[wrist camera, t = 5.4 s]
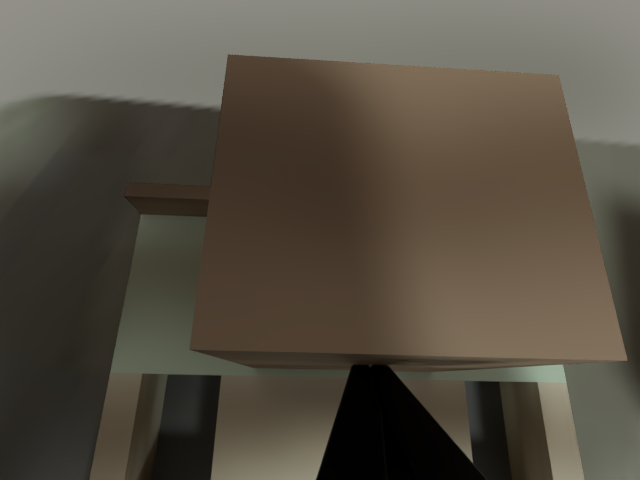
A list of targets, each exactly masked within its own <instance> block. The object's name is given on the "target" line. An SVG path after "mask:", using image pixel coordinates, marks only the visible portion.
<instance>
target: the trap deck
mask: <svg viewBox="0 0 640 480" xmlns="http://www.w3.org/2000/svg"><path fill="white" fill-rule="evenodd" d="M210 188H211V186H194V185H172V184H150V183H128V182H127V184H126V189H125V194H124V196H125V198H126V199H127V200H128V201H129V202H130V203H131V204H132V205H133V206H134V207H135V208H136V209H137V210H138V211H139V213H140V214H141V217H140V222H139V227H138V233H137V238H136V243H135V248H134V253H133V258H132V263H131V268H130V274H129V279H128V284H127V289H126V294H125V299H124V304H123V309H122V315H121V320H120V325H119V330H118V335H117V340H116V345H115V350H114V356H113V361H112V366H111V371H110V376H109V381H108V386H107V392H106V397H105V402H104V407H103V412H102V417H101V422H100V427H99V433H98V438H97V443H96V448H95V453H94V458H93V463H92V468H91V474H90V479H89V480H316V478H317V475H318V471H319V468H320V465H321V462H322V458H323V455H324V452H325V449H326V446H327V442H328V439H329V436H330V433H331V430H332V426H333V423H334V420H335V417H336V413H337V410H338V407H339V404H340V401H341V397H342V394H343V391H344V388H345V385H346V381H347V378H348V375H349V372H350V370H323V369H279V368H251V367H248V366H244V365H241V364H237V363H234V362H230V361H227V360H223V359H220V358H216V357H213V356H209V355H206V354H202V353H199V352H195V351H192V350H189V348H190V340H191V333H192V325H193V317H194V310H195V302H196V295H197V287H198V279H199V272H200V264H201V257H202V249H203V241H204V234H205V226H206V219H207V211H208V203H209V196H210ZM394 373H395V374H396V375H397V376H398V377H399V378H400V379H401V381H402V382H403V383H404V384H405V385H406V386H407V388H408V389H409V390H410V391H411V392H412V393H413V394H414V396H415V397H416V398H417V399H418V400H419V401H420V403H421V404H422V405H423V406H424V407H425V408H426V409H427V411H428V412H429V413H430V414H431V415H432V416H433V418H434V419H435V420H436V421H437V422H438V423H439V424H440V426H441V427H442V428H443V429H444V430H445V431H446V433H447V434H448V435H449V436H450V437H451V438H452V439H453V441H454V442H455V443H456V444H457V445H458V446H459V448H460V449H461V450H462V451H463V452H464V453H465V454H466V456H467V457H468V458H469V459H470V460H471V461H472V463H473V464H474V465H475V466H476V467H477V468H478V469H479V471H480V472H481V473H482V474H483V475H484V476H485V477H486V479H487V480H584V475H583V470H582V464H581V459H580V454H579V448H578V443H577V438H576V432H575V427H574V421H573V416H572V411H571V405H570V400H569V395H568V389H567V384H566V378H565V373H564V368H563V365H546V366H529V367H512V368H495V369H478V370H461V371H443V372H410V371H394Z"/></svg>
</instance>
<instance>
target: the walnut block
mask: <svg viewBox="0 0 640 480" xmlns="http://www.w3.org/2000/svg"><path fill="white" fill-rule="evenodd" d="M189 350H192V351H195V352H199V353H202V354H206V355H209V356H213V357H216V358H220V359H223V360H227V361H230V362H234V363H237V364H241V365H244V366H248V367H251V368H279V369H323V370H350V368H351V366H352V365H368V366H372V365H387V366H389V367H390V368H391V369H392V370H393V371H410V372H443V371H461V370H478V369H495V368H512V367H529V366H546V365H563V364H580V363H597V362H614V361H628V360H627V356H626V352H625V348H624V344H623V339H622V335H621V331H620V327H619V323H618V319H617V315H616V310H615V306H614V302H613V298H612V294H611V290H610V286H609V282H608V277H607V273H606V269H605V265H604V261H603V257H602V253H601V248H600V244H599V240H598V236H597V232H596V228H595V224H594V219H593V215H592V211H591V207H590V203H589V199H588V195H587V190H586V186H585V182H584V178H583V174H582V170H581V166H580V161H579V157H578V153H577V149H576V145H575V141H574V137H573V132H572V128H571V124H570V120H569V116H568V112H567V108H566V104H565V99H564V95H563V91H562V87H561V83H560V79H559V75H548V74H547V75H546V74H532V73H516V72H515V73H514V72H499V71H483V70H467V69H451V68H435V67H419V66H403V65H387V64H370V63H355V62H338V61H323V60H307V59H306V60H305V59H291V58H274V57H257V56H242V55H228V59H227V67H226V74H225V82H224V90H223V97H222V105H221V112H220V120H219V127H218V135H217V143H216V150H215V158H214V165H213V173H212V181H211V188H210V196H209V203H208V211H207V219H206V226H205V234H204V241H203V249H202V257H201V264H200V272H199V279H198V287H197V295H196V302H195V310H194V317H193V325H192V333H191V340H190V348H189Z"/></svg>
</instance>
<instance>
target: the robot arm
mask: <svg viewBox="0 0 640 480" xmlns="http://www.w3.org/2000/svg"><path fill="white" fill-rule="evenodd" d="M316 480H487V479H486V477H485V476H484V475H483V474H482V473H481V472H480V471H479V469H478V468H477V467H476V466H475V465H474V464H473V463H472V461H471V460H470V459H469V458H468V457H467V456H466V454H465V453H464V452H463V451H462V450H461V449H460V448H459V446H458V445H457V444H456V443H455V442H454V441H453V439H452V438H451V437H450V436H449V435H448V434H447V433H446V431H445V430H444V429H443V428H442V427H441V426H440V424H439V423H438V422H437V421H436V420H435V419H434V418H433V416H432V415H431V414H430V413H429V412H428V411H427V409H426V408H425V407H424V406H423V405H422V404H421V403H420V401H419V400H418V399H417V398H416V397H415V396H414V394H413V393H412V392H411V391H410V390H409V389H408V388H407V386H406V385H405V384H404V383H403V382H402V381H401V379H400V378H399V377H398V376H397V375H396V374H395V373H394V371H393V370H392V369H391V368H390V367H389V366H387V365H372V366H368V365H352V366H351V368H350V372H349V375H348V378H347V381H346V385H345V388H344V391H343V394H342V397H341V401H340V404H339V407H338V410H337V413H336V417H335V420H334V423H333V426H332V430H331V433H330V436H329V439H328V442H327V446H326V449H325V452H324V455H323V458H322V462H321V465H320V468H319V471H318V475H317V478H316Z"/></svg>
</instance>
